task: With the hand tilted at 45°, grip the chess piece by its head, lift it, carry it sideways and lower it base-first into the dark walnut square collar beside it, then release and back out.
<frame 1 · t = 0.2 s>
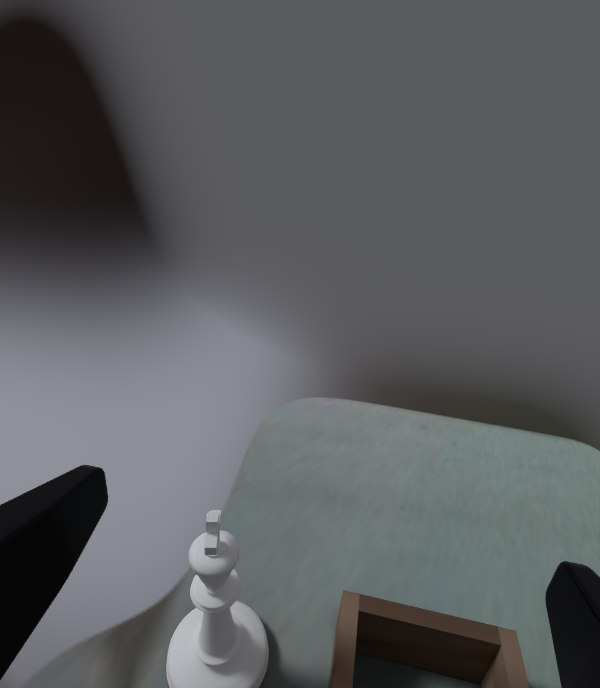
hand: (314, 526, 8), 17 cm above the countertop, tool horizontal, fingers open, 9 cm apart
chess piece: (218, 657, 21), on the countertop
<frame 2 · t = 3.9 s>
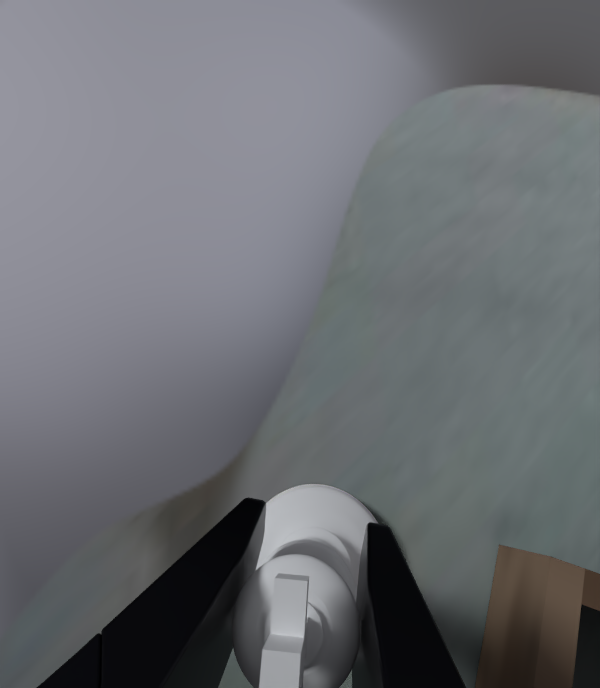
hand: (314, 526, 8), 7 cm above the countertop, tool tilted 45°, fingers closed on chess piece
chess piece: (314, 561, 14), on the countertop, touching gripper
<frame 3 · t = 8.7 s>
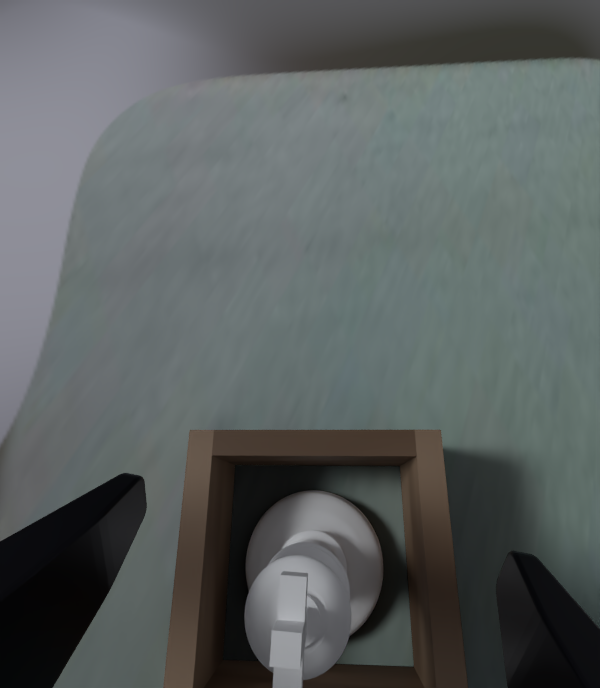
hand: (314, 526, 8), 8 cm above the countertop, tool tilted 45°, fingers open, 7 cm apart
walnut collar: (316, 557, 15), on the countertop
chess piece: (314, 561, 16), resting in walnut collar
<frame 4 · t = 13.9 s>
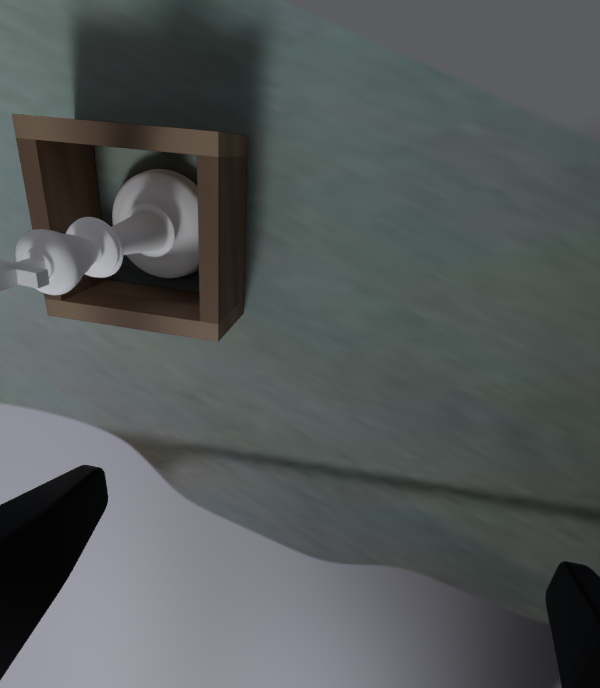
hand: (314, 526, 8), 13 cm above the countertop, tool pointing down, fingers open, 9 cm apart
walnut collar: (163, 222, 20), on the countertop
chess piece: (169, 224, 20), resting in walnut collar
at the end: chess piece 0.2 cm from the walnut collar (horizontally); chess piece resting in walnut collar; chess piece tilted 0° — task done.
